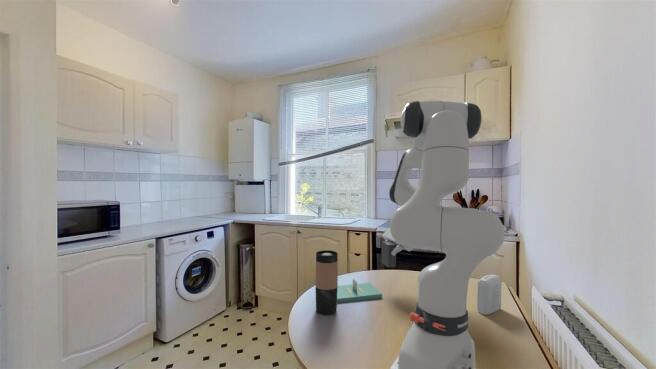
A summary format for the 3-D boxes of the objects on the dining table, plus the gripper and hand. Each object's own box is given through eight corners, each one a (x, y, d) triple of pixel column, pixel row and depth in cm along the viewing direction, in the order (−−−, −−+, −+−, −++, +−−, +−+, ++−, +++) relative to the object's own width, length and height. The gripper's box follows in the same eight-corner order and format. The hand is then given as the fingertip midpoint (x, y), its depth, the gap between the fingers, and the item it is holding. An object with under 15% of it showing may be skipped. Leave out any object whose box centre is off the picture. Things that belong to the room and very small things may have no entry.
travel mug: (341, 308, 99) (341, 252, 99) (329, 317, 93) (330, 257, 92) (323, 303, 103) (323, 249, 103) (310, 311, 97) (311, 253, 96)
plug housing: (395, 266, 112) (396, 244, 112) (388, 267, 112) (388, 244, 111) (388, 262, 118) (389, 241, 118) (381, 263, 117) (381, 241, 117)
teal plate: (382, 297, 109) (382, 283, 109) (337, 302, 104) (337, 288, 104) (369, 286, 120) (369, 273, 120) (328, 290, 116) (329, 277, 116)
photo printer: (490, 304, 104) (491, 271, 104) (502, 309, 100) (503, 274, 100) (475, 311, 98) (475, 276, 98) (487, 316, 94) (488, 280, 94)
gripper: (392, 218, 126) (371, 241, 124) (418, 225, 107) (394, 253, 104) (400, 228, 128) (380, 250, 125) (428, 237, 108) (405, 264, 106)
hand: (387, 251), depth 115 cm, fingers closed on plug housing, 6 cm apart
